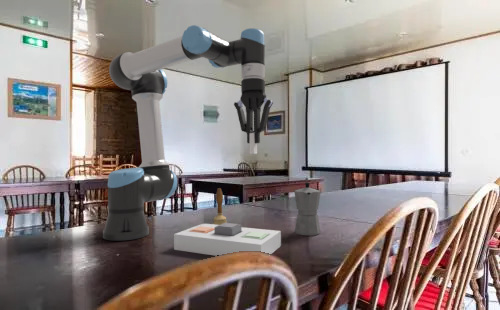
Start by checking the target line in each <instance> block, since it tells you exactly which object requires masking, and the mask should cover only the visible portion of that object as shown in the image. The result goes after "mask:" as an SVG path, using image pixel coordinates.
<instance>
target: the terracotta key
mask: <svg viewBox="0 0 500 310" xmlns="http://www.w3.org/2000/svg"><path fill="white" fill-rule="evenodd" d="M213 230H215V228H212V227H202V226H200V227H198V228H195V229H192V230H190V232H199V233H208V232H211V231H213Z"/></svg>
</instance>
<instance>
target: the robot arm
mask: <svg viewBox="0 0 500 310" xmlns="http://www.w3.org/2000/svg"><path fill="white" fill-rule="evenodd" d="M265 47H266V44H265V34H264V32H263V31H262V30H261V29H258V28H255V27H254V28H245V29H244V30H242V31H241V34H240V38H239V39H236V40H231V41H227V40H225V39H224V38H222V37H219V36H218V35H216V34H214V33H212V32H211V31H209V30H208V29H206V28H204V27H201V26H199V25H195V24H194V25H190V26H188V27H187V28H186V29H185V30H184V31H183V33H182V36H179V37H177V38H173V39H171V40H167V41H165V42H162V43H159V44H157V45H153V46H151V47H147V48H145V49H142V50H139V51H136V52H131V51H130V52H129V51H127V52H124V53H121V54H118V55H117V56H115V57H113V59H112V60H111V62H110V63H109V69H108V71H109V77H110V79H111V80H112V82H113V83H114V84H115V86H118V87H119V88H120V89H123V90H127V91H131V99H132V100H133V101H134V102H136V109H137V111H136V112H137V120H138V122H137V123H138V133H139V142H140V152H141V153H140V154H141V164H139V166H138V167H129V168H122V169H121V168H120V169H116V170H113V171H111V172H110V173H109V174H108V176H107V177H108V178H107V179H108V180H107V212H108V215H107V218H106V222H105V226H104V228H103V230H102V239H104V240H106V241H112V242H113V241H119V242H120V241H121V242H122V241H130V240H136V239H140V238H144V237H147V236H148V235H149V234H150V226H149V225H148V222H147V219H146V218H147V217H146V216H145V212H144V211H145V210H144V207H145V203H149V202H155V201H163V200H166V199H169V198H170V197H172V196H173V195H174V193H175V191H176V190H177V186H178V178H177V175H176V174H175V172H174V171H172V170H171V168H170V164H169V162H167V161H166V157H165V147H164V138H163V137H164V136H163V129H162V115H161V107H160V106H161V105H160V101H161V100H162V99H163V98H164V96H163V95H165V92H166V91H167V90H166V89H167V88H168V78H167V74H166V73H165V71H164V70H163V69H166V68H170V67H173V66H174V67H175V66H176V65H177V66H178V65H180V64H183V63H187V62H189V61H193V60H198V59H201V58H204V59H207V60H208V62H209V64H211V66H212V67H214V68H216V69H218V68H226V67H231V66H236V65H240V67H241V68H240V69H241V71H240V72H241V74H240V76H241V79H242V80H241V81H240V84H241V86H240V88H241V91H240V92H241V95H240V99H239V100H238V101H236V102H234V103H233V106H234V108H235V109H236V113H237V117H238V121H239V125H240V130H241V132H244V133H246V142H247V144H249V155H257V154H258V144H260V141H261V133H262V132H265V131H266V130H267V129H266V128H267V123H268V119H269V116H270V112H271V111H270V110H271V108H272V106H273V104H274V101H273V100H271V99H269V98H267V95H266V81H265V78H266V76H265V75H266V67H265V56H266V55H265V54H266V53H265V52H266V51H265ZM263 105H264V106H263ZM262 106H263V108H262ZM243 107H245V110H244V108H243ZM261 109H262V110H261ZM261 112H262V114H261ZM245 113H246V115H245Z"/></svg>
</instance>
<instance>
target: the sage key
mask: <svg viewBox="0 0 500 310" xmlns="http://www.w3.org/2000/svg"><path fill="white" fill-rule="evenodd" d="M268 235H269V234H266V233H260V232H249V233H248V234H246V235H244V236H242V237H243V238H252V239H260V240H262V239H264V238H265V237H267V236H268Z"/></svg>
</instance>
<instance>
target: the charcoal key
mask: <svg viewBox="0 0 500 310" xmlns="http://www.w3.org/2000/svg"><path fill="white" fill-rule="evenodd" d="M241 227H242V224H239V223H232V222H231V223H230V222H227V223H223V224H221V225H218V226H216V227H215V234H216V235H225V236H235V235H237V234H239V233H241Z"/></svg>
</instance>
